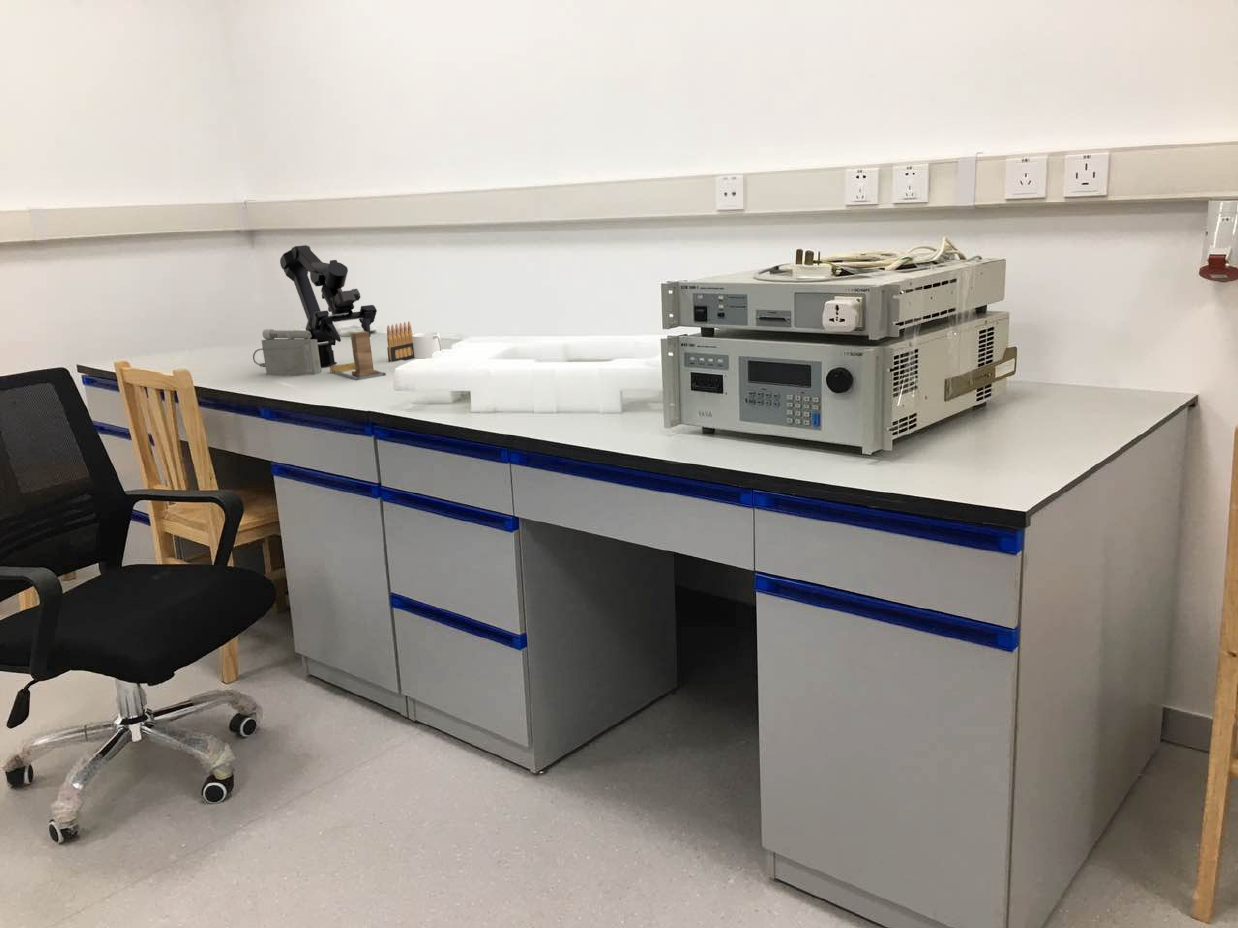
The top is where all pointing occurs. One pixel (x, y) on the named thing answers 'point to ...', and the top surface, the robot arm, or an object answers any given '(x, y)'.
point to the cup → (426, 344)
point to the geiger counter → (289, 353)
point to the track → (351, 366)
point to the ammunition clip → (400, 343)
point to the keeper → (362, 354)
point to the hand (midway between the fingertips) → (355, 338)
